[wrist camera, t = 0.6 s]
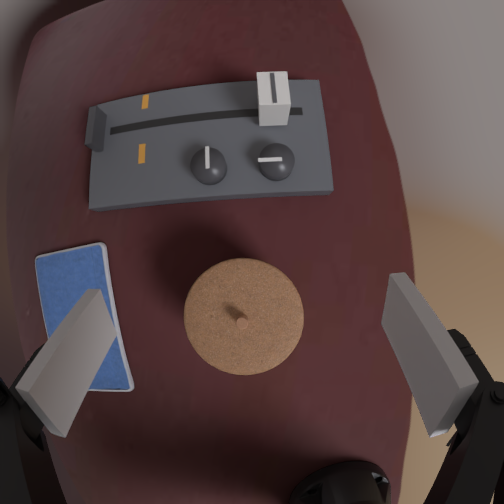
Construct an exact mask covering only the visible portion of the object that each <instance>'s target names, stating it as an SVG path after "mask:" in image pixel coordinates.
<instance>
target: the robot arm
mask: <svg viewBox="0 0 504 504" xmlns="http://www.w3.org/2000/svg"><path fill="white" fill-rule="evenodd" d="M381 324H382V326H383V329H384V331H385V333H386V335H387V337H388V339H389V341H390V344H391V346H392V348H393V350H394V352H395V355H396V357H397V359H398V361H399V363H400V366H401V368H402V370H403V373H404V375H405V377H406V380H407V382H408V384H409V387H410V389H411V391H412V394H413V396H414V399H415V401H416V404H417V406H418V409H419V411H420V414H421V416H422V419H423V421H424V424H425V427H426V429H427V432H428V435H429V437H433V436H437V435H440V434H443V433H446V432H448V431H449V429H450V428H451V426H452V425H453V423H454V424H455V426H456V428H457V431H456V432H455V434H454V435H453V437H452V438H451V439H450V440H449V442H448V443H447V445H446V446H449V445H450V447H449V450H448V452H447V455H446V457H445V459H444V462H443V464H442V466H441V469H440V471H439V473H438V475H437V477H436V480H435V482H434V484H433V486H432V488H431V490H430V492H429V494H428V496H427V498H426V500H425V502H424V503H423V504H490V502H491V499H492V496H493V493H494V500H493V504H504V383H503V382H497V381H494V380H493V379H492V377H491V375H490V374H489V372H488V371H487V369H486V367H485V366H484V364H483V363H482V361H481V360H480V358H479V357H478V355H476V352H475V351H474V349H473V348H472V347H471V345H470V343H469V342H468V341H467V339H466V337H465V336H464V335H463V334H461V333H460V332H459V331H457V330H456V329H451V330H446V328H445V327H444V326H443V324H442V323H441V321H440V320H439V319H438V317H437V315H436V314H435V313H434V311H433V310H432V308H431V307H430V306H429V304H428V303H427V301H426V300H425V299H424V297H423V296H422V294H421V293H420V292H419V291H418V289H417V288H416V286H415V285H414V284H413V282H412V281H411V280H410V278H409V277H408V276H407V274H406V273H405V272H404V273H393V274H390V276H389V282H388V289H387V295H386V300H385V306H384V312H383V317H382V322H381ZM116 336H117V332H116V330H115V327H114V325H113V322H112V319H111V317H110V314H109V311H108V309H107V306H106V303H105V301H104V298H103V295H102V292H101V289H87V291H86V292H85V293H84V294H83V295H82V297H81V298H80V299H79V300H78V302H77V303H76V304H75V305H74V307H73V308H72V309H71V310H70V312H69V313H68V314H67V315H66V317H65V318H64V319H63V321H62V322H61V323H60V325H59V326H58V327H57V329H56V330H55V331H54V333H53V334H52V335H51V337H50V338H49V339H48V341H47V342H46V343H45V344H43V345H42V346H41V347H39V348H38V349H37V350H36V351H35V352H34V353H33V355H32V356H31V358H30V361H28V362H27V363H26V365H25V367H24V368H23V369H22V371H21V372H20V373H19V375H18V376H17V378H16V379H15V381H14V382H13V384H12V386H11V387H10V388H9V389H8V387H7V386H6V385H5V383H4V382H3V380H2V379H1V378H0V504H67V503H66V500H65V497H64V495H63V492H62V489H61V486H60V484H59V481H58V478H57V475H56V472H55V469H54V466H53V462H52V459H51V455H50V452H49V448H48V444H47V441H46V437H45V434H44V432H43V431H42V428H43V426H44V425H45V426H46V428H47V429H48V430H49V431H50V432H51V433H52V434H55V435H58V436H61V437H64V438H66V436H67V433H68V431H69V429H70V427H71V425H72V422H73V420H74V418H75V416H76V414H77V412H78V410H79V408H80V406H81V403H82V401H83V399H84V397H85V395H86V393H87V391H88V389H89V387H90V385H91V383H92V381H93V379H94V377H95V375H96V373H97V371H98V370H99V368H100V366H101V364H102V362H103V360H104V358H105V356H106V354H107V352H108V351H109V349H110V347H111V345H112V343H113V341H114V339H115V338H116ZM494 490H495V491H494ZM289 504H391V485H390V482H389V480H388V478H387V476H386V474H385V473H384V471H383V470H382V469H381V468H380V467H379V466H377V465H375V464H373V463H369V462H363V461H350V462H343V463H338V464H334V465H331V466H328V467H325V468H323V469H321V470H318V471H316V472H315V473H313V474H311V475H309V476H308V477H306V478H305V479H304V480H303V481H301V482H300V483H299V484H298V485H297V486H296V488H295V489H294V490H293V492H292V494H291V497H290V501H289Z"/></svg>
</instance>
